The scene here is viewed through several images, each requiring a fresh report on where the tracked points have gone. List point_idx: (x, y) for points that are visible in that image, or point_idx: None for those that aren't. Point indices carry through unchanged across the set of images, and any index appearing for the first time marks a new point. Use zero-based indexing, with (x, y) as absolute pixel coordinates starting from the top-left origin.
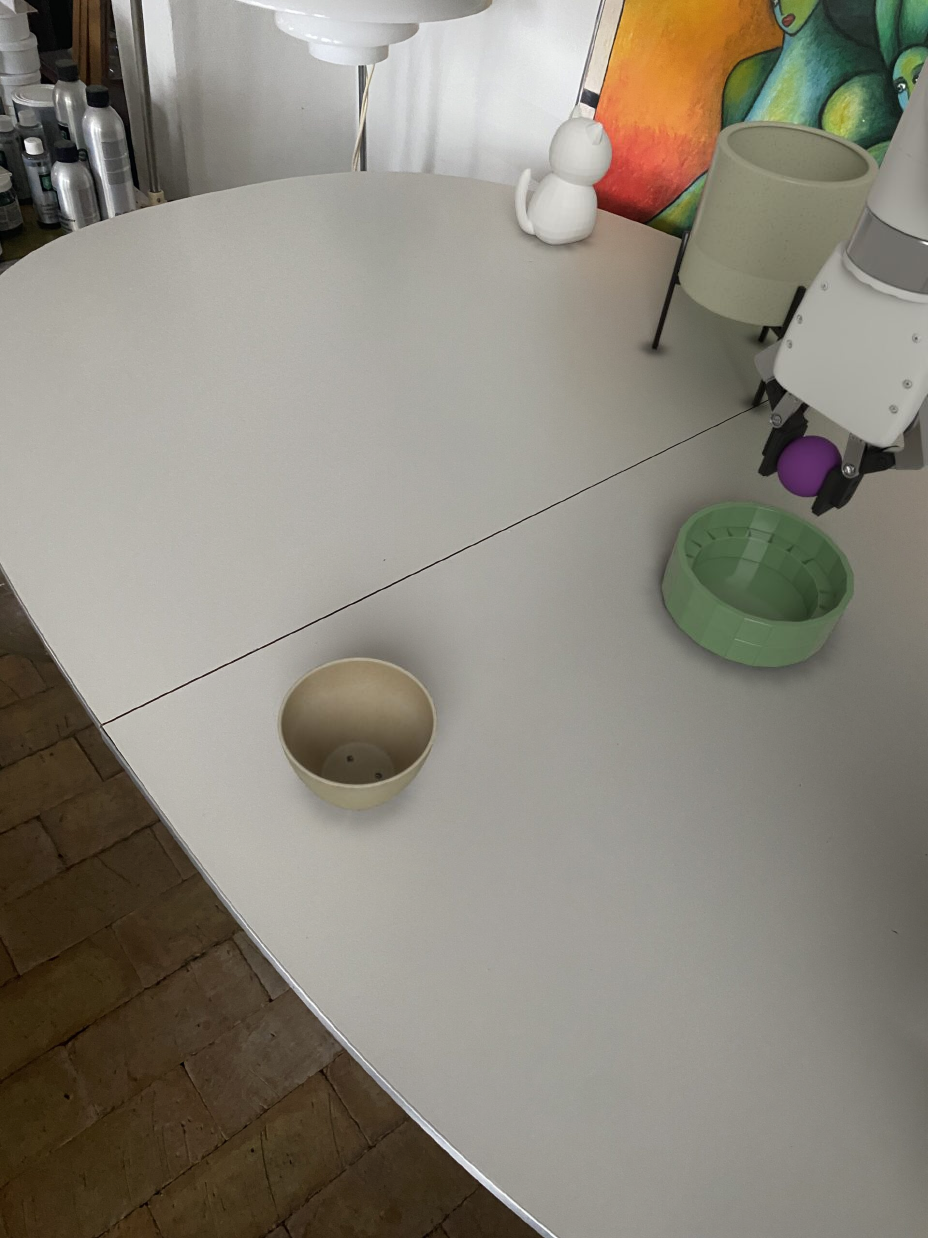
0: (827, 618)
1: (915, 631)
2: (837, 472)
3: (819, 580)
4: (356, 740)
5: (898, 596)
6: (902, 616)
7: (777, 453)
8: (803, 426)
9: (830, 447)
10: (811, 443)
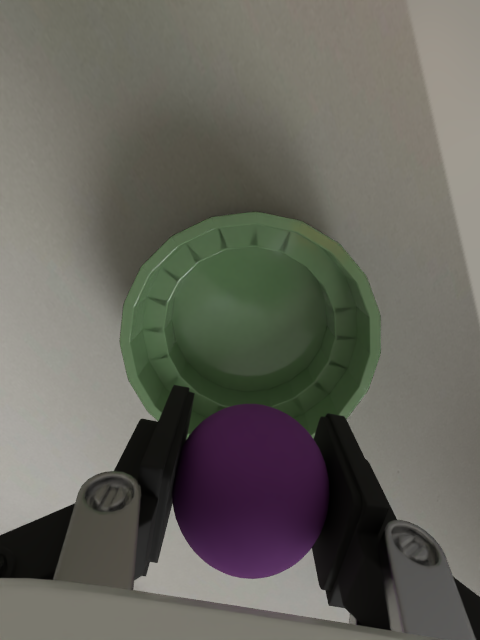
0: (366, 383)
1: (445, 189)
2: (342, 604)
3: (316, 266)
4: None
5: (406, 137)
6: (422, 175)
7: (170, 508)
8: (167, 495)
9: (282, 545)
10: (231, 566)
